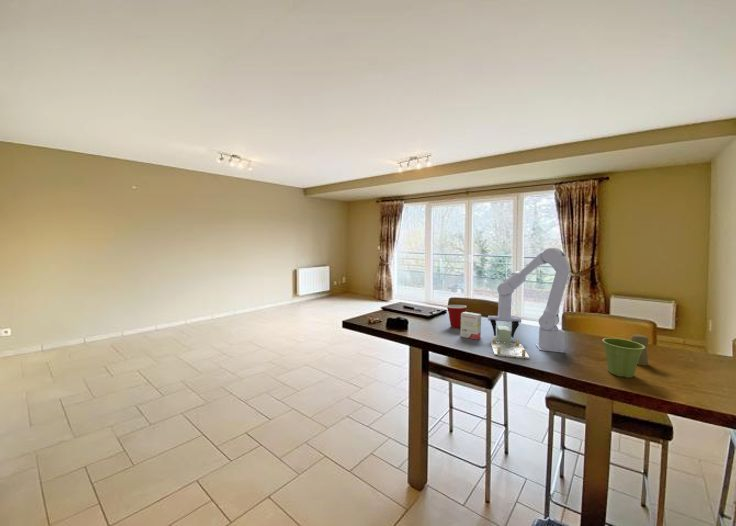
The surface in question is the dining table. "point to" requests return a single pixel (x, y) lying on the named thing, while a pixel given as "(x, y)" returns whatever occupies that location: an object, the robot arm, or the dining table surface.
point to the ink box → (470, 325)
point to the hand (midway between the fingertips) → (503, 336)
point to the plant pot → (622, 356)
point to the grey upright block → (643, 357)
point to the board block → (503, 334)
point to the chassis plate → (509, 349)
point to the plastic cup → (455, 314)
